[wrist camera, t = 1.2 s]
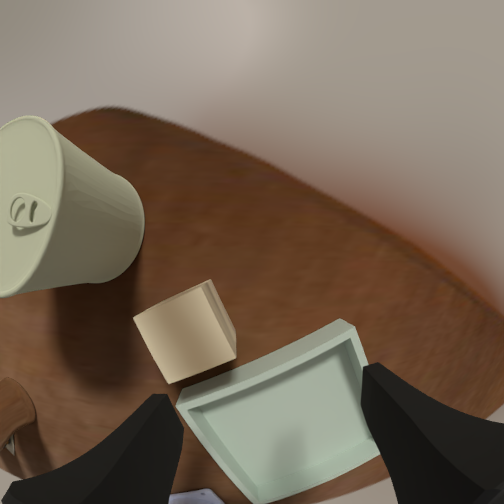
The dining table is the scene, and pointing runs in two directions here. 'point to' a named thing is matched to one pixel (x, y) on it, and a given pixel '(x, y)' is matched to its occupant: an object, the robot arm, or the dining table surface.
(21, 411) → the beer glass
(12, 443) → the condiment
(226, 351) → the birch block
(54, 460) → the dining table surface
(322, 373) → the bin
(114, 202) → the can
